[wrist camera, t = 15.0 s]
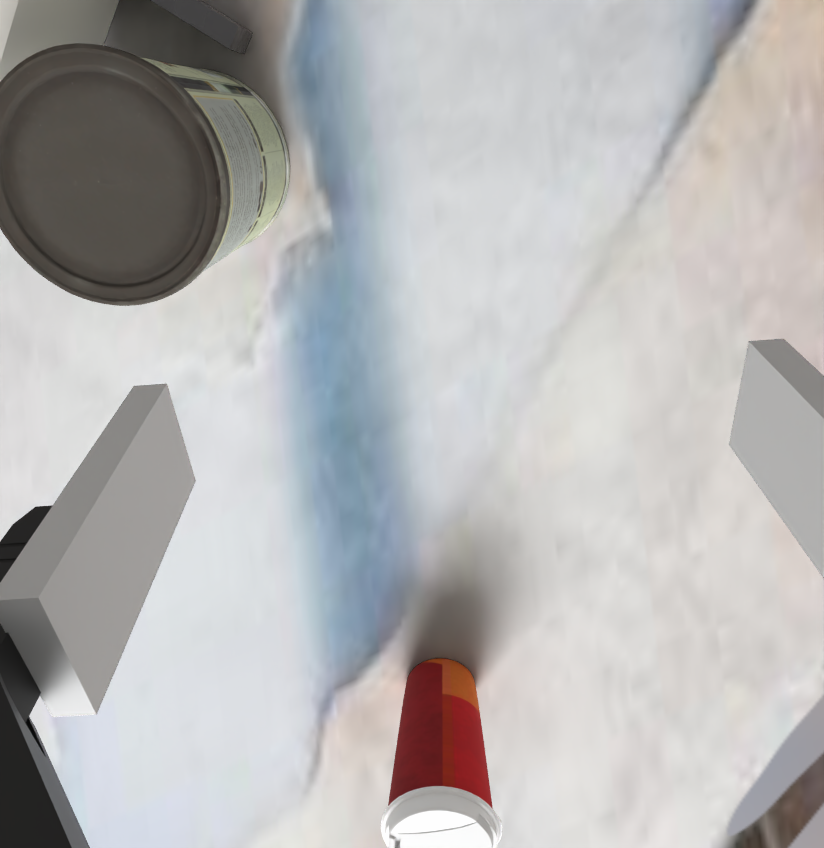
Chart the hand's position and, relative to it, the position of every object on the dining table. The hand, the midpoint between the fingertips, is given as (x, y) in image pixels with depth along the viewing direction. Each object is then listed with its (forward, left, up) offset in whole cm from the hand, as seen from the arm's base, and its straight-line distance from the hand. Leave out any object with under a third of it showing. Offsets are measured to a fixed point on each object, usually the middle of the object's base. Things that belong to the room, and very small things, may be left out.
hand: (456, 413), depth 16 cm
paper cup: (-6, +35, -29) cm, 46 cm away
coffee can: (+15, -1, -29) cm, 33 cm away
